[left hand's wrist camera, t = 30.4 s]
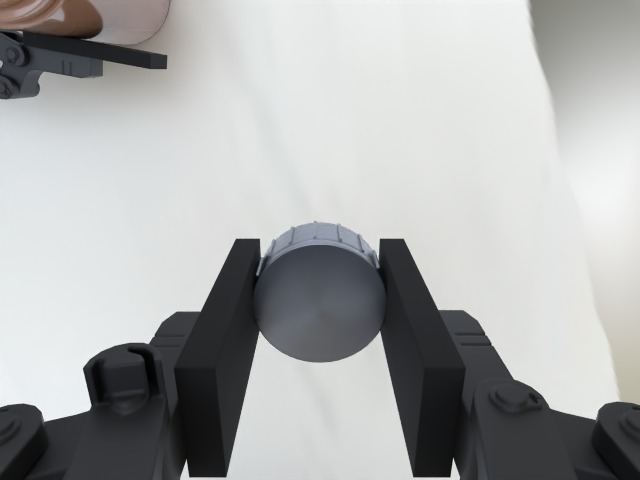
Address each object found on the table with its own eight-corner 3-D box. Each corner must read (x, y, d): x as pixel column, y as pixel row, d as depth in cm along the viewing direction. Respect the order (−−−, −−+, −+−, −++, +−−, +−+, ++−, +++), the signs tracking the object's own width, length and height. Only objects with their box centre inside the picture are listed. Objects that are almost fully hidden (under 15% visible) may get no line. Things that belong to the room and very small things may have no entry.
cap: (374, 210, 14) (381, 231, 12) (388, 322, 15) (396, 354, 13) (246, 230, 14) (236, 253, 12) (272, 338, 15) (266, 372, 14)
